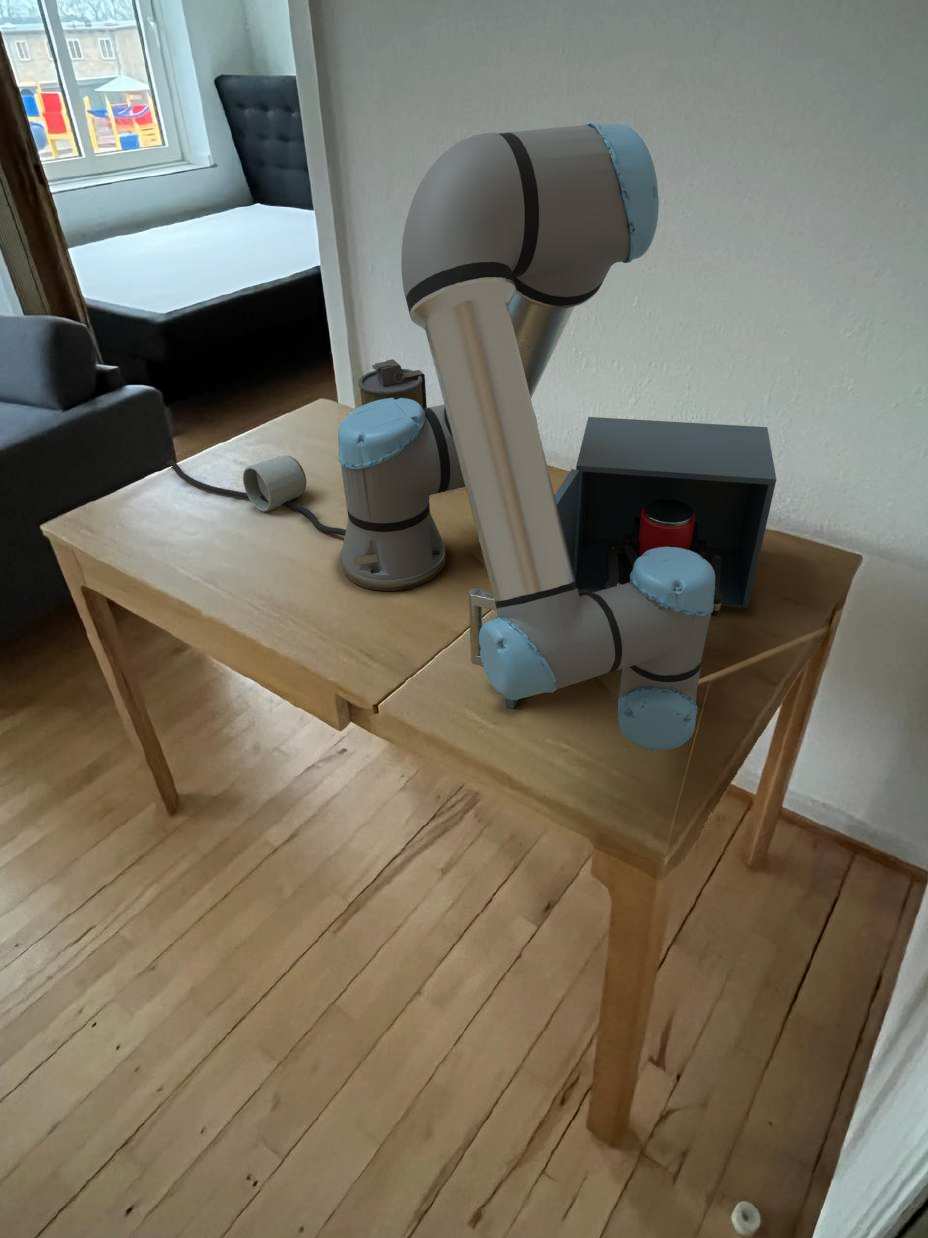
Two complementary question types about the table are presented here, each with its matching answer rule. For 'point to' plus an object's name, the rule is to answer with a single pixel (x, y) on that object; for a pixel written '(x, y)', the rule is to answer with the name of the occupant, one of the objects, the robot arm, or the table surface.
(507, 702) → the fridge door
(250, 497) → the ceramic mug
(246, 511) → the table surface
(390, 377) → the canister
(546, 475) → the robot arm
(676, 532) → the can
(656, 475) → the fridge
